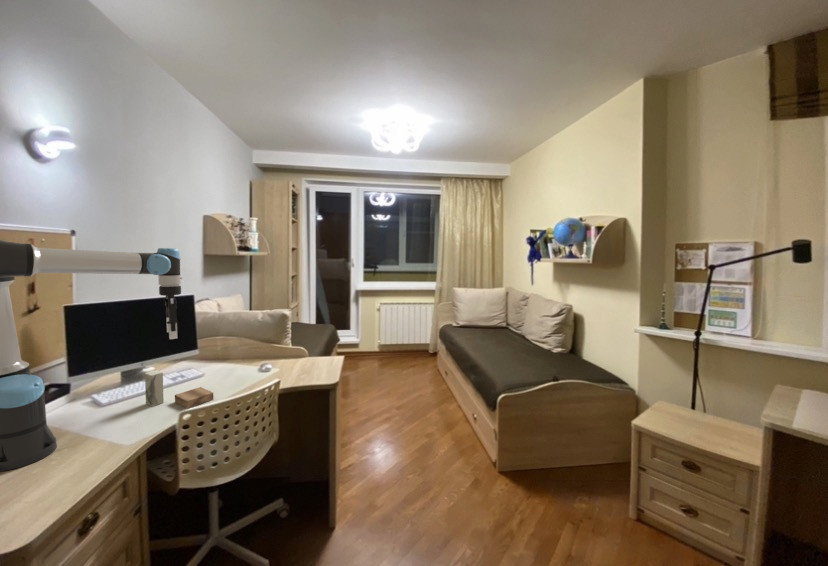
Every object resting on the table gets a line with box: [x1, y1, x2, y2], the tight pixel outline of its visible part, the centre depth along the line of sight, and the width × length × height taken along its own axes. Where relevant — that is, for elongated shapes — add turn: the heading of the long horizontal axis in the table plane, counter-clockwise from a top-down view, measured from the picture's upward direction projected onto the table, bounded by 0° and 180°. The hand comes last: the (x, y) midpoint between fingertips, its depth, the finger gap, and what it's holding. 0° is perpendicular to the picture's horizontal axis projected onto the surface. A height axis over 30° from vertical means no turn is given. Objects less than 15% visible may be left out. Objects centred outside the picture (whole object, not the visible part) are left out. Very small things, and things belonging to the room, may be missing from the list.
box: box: [144, 369, 164, 407], centre depth 140 cm, size 5×4×13 cm
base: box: [174, 386, 214, 409], centre depth 144 cm, size 10×10×3 cm
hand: (172, 335), depth 148 cm, fingers open, 13 cm apart
